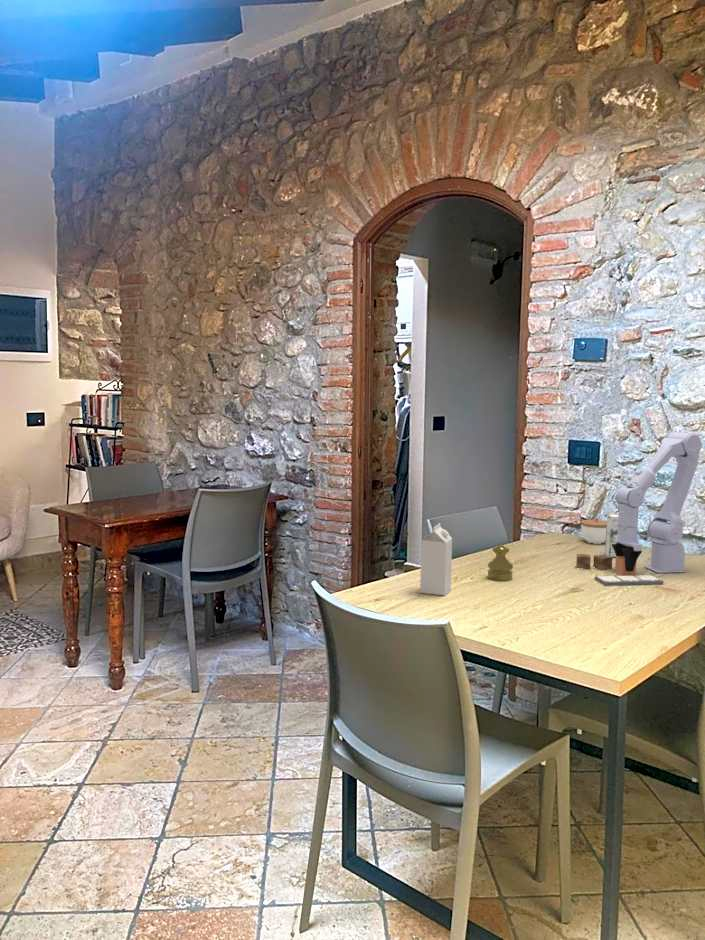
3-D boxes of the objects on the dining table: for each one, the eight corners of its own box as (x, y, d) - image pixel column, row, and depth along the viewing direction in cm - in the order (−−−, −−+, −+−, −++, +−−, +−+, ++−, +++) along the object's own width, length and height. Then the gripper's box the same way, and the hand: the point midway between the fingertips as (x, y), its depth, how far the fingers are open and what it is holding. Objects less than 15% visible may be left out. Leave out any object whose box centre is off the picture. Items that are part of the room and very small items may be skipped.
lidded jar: (606, 540, 289) (607, 515, 288) (613, 546, 278) (614, 520, 277) (577, 539, 290) (578, 514, 289) (583, 545, 279) (584, 519, 278)
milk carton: (419, 593, 213) (421, 526, 211) (426, 587, 220) (428, 522, 218) (444, 596, 211) (446, 528, 209) (450, 589, 217) (452, 523, 215)
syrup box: (621, 554, 265) (623, 513, 263) (625, 558, 259) (628, 516, 257) (604, 554, 265) (606, 512, 264) (608, 557, 260) (610, 515, 258)
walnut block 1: (589, 566, 247) (589, 554, 247) (590, 569, 243) (590, 557, 243) (576, 566, 248) (576, 553, 247) (576, 568, 244) (577, 556, 244)
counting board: (651, 578, 233) (651, 574, 233) (663, 584, 226) (663, 580, 226) (594, 579, 230) (594, 576, 230) (605, 585, 224) (605, 582, 223)
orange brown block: (628, 571, 241) (629, 555, 240) (635, 575, 237) (636, 559, 236) (615, 571, 240) (615, 556, 240) (621, 575, 236) (622, 559, 235)
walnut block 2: (603, 566, 247) (603, 554, 247) (611, 569, 243) (612, 557, 243) (593, 567, 246) (593, 555, 245) (601, 570, 242) (602, 558, 241)
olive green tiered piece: (514, 581, 227) (515, 548, 226) (489, 581, 228) (490, 548, 226) (510, 575, 235) (511, 543, 234) (485, 574, 235) (486, 542, 234)
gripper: (604, 521, 243) (602, 563, 245) (626, 530, 229) (624, 575, 231) (625, 521, 244) (623, 563, 246) (649, 530, 230) (646, 574, 232)
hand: (625, 568), depth 238 cm, fingers closed on orange brown block, 4 cm apart
